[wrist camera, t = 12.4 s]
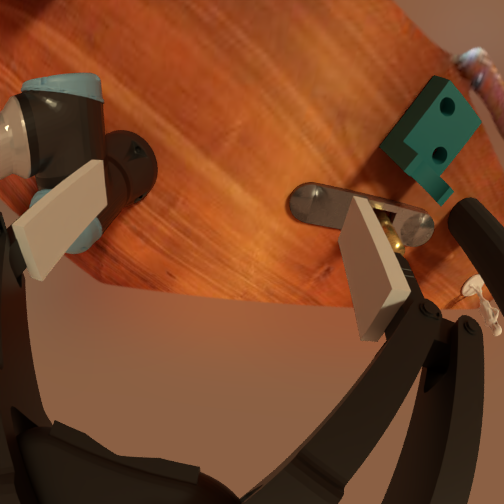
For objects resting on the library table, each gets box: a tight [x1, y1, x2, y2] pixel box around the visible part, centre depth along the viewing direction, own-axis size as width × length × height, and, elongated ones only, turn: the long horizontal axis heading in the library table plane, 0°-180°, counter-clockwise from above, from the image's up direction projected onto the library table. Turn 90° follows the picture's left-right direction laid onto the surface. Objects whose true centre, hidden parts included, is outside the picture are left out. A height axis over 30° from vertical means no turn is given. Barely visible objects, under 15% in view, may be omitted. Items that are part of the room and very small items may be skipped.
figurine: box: [462, 274, 502, 336], centre depth 56 cm, size 8×8×18 cm
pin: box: [373, 208, 405, 256], centre depth 50 cm, size 4×4×12 cm
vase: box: [448, 198, 504, 316], centre depth 40 cm, size 10×10×30 cm
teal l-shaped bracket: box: [379, 75, 482, 206], centre depth 38 cm, size 18×11×10 cm, turn 150°
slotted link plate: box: [290, 182, 434, 247], centre depth 53 cm, size 31×8×2 cm, turn 82°
